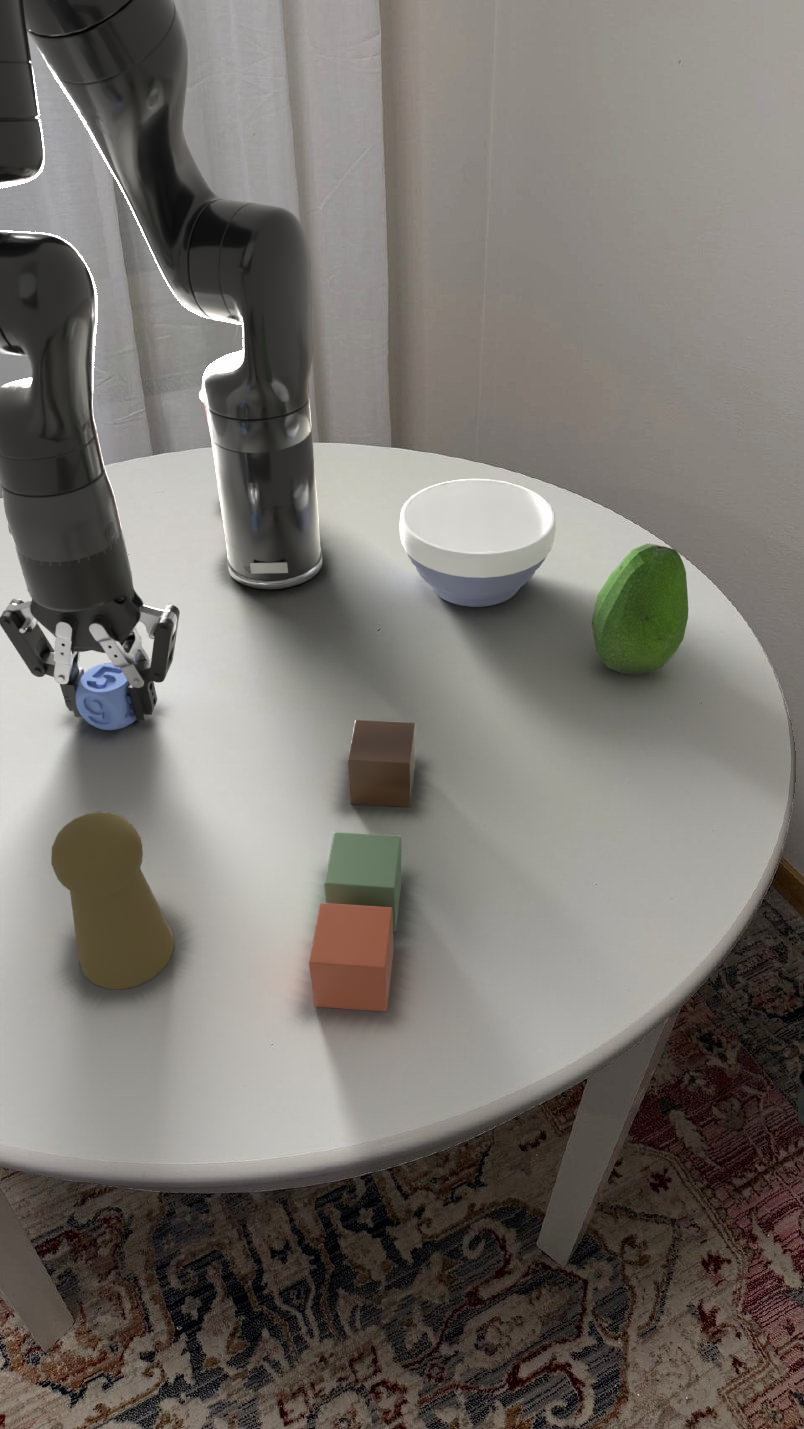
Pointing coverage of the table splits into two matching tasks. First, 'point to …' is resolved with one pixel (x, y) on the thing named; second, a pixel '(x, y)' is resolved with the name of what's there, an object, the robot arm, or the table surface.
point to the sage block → (365, 871)
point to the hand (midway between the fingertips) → (114, 712)
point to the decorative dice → (105, 698)
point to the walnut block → (382, 763)
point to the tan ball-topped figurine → (111, 901)
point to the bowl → (477, 538)
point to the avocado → (642, 611)
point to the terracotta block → (352, 957)
